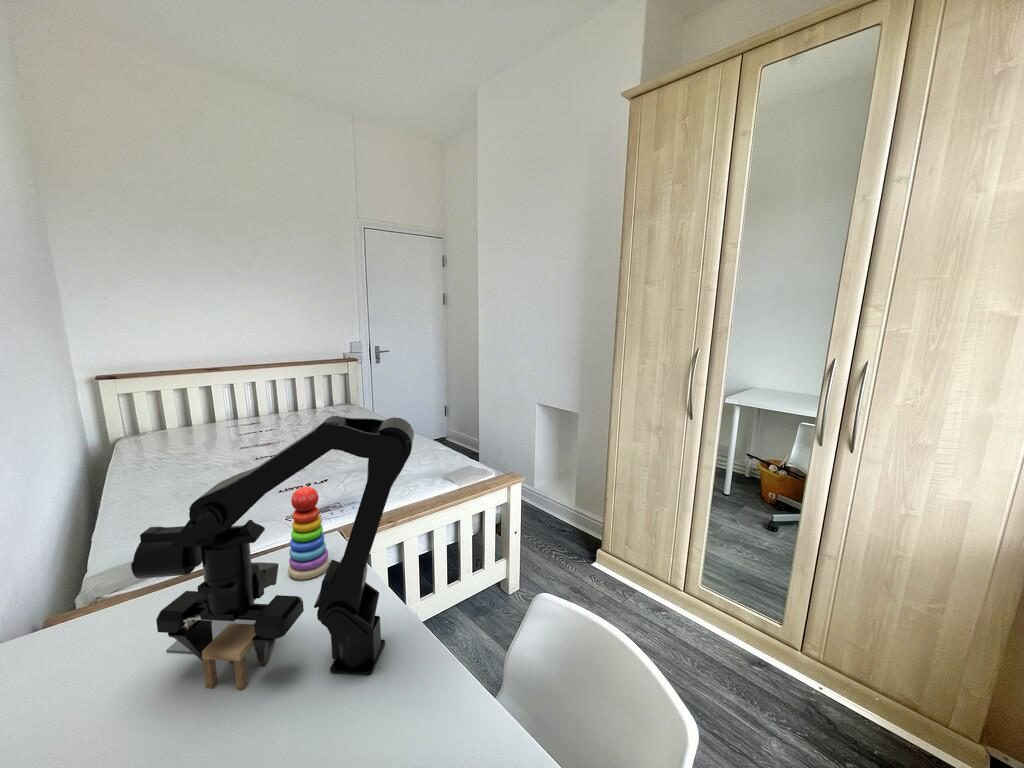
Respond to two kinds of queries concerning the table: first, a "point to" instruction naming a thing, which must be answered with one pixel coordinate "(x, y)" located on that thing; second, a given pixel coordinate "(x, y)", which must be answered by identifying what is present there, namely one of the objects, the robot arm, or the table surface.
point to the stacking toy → (307, 537)
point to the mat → (216, 630)
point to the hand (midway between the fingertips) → (237, 663)
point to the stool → (229, 653)
